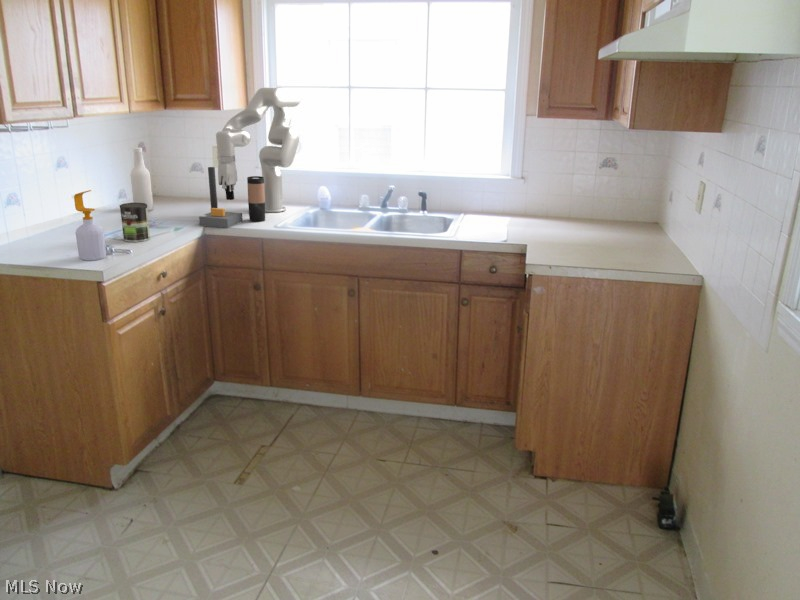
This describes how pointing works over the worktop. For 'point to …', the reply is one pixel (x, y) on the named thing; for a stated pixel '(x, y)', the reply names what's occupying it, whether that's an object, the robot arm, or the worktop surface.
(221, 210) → the handle
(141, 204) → the coffee can
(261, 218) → the travel mug
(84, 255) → the soap bottle
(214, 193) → the post
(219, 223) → the grey square slab
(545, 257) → the worktop surface
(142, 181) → the alcohol
